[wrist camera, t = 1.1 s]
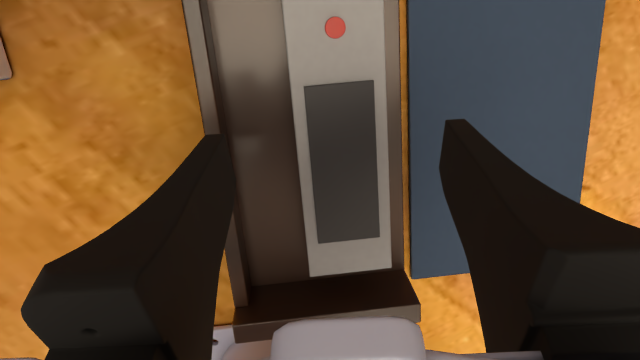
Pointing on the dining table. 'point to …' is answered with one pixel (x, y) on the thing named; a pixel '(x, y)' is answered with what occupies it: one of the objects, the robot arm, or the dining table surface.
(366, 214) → the remote
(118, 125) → the dining table surface
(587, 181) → the dining table surface
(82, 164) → the dining table surface
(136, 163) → the dining table surface
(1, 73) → the ink cartridge box
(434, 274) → the desk mat
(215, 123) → the dark wooden tray
